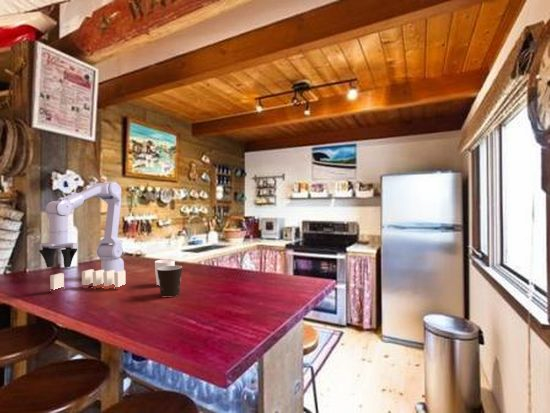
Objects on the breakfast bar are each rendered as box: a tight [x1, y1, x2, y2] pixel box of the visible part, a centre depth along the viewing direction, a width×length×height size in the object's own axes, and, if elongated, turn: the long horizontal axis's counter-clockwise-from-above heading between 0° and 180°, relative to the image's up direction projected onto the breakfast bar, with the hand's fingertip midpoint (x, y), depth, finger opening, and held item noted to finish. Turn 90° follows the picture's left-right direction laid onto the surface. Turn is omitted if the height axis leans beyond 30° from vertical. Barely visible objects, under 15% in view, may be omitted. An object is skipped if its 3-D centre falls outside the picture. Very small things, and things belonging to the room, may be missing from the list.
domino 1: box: [49, 272, 65, 290], centre depth 119 cm, size 4×2×7 cm, turn 168°
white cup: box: [154, 258, 176, 286], centre depth 127 cm, size 8×8×10 cm
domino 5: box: [114, 269, 127, 288], centre depth 122 cm, size 4×2×7 cm, turn 168°
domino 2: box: [81, 268, 95, 286], centre depth 125 cm, size 4×2×7 cm, turn 168°
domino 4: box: [103, 270, 115, 286], centre depth 123 cm, size 4×2×7 cm, turn 168°
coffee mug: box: [157, 265, 183, 297], centre depth 113 cm, size 12×9×10 cm
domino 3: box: [93, 269, 104, 286], centre depth 124 cm, size 4×2×7 cm, turn 168°
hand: (58, 267), depth 118 cm, fingers open, 7 cm apart
